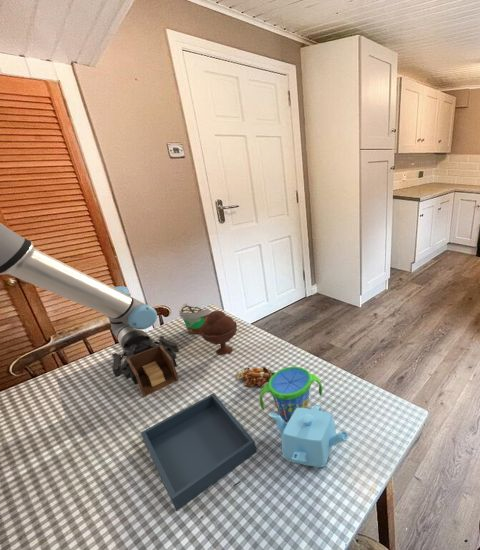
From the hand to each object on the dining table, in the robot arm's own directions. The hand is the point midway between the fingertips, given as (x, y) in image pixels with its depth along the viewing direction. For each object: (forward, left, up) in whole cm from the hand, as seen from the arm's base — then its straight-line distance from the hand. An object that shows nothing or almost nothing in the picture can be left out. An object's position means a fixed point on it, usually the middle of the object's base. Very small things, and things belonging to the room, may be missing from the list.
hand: (155, 371), depth 85 cm
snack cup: (+35, +21, -6) cm, 42 cm away
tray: (+28, 0, -6) cm, 29 cm away
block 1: (-7, 0, -5) cm, 9 cm away
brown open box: (-5, 0, -6) cm, 8 cm away
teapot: (+48, +16, -6) cm, 51 cm away
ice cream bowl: (-4, +20, -6) cm, 21 cm away
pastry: (+16, +20, -6) cm, 27 cm away
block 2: (-3, 0, -5) cm, 6 cm away
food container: (-24, +18, -6) cm, 30 cm away
